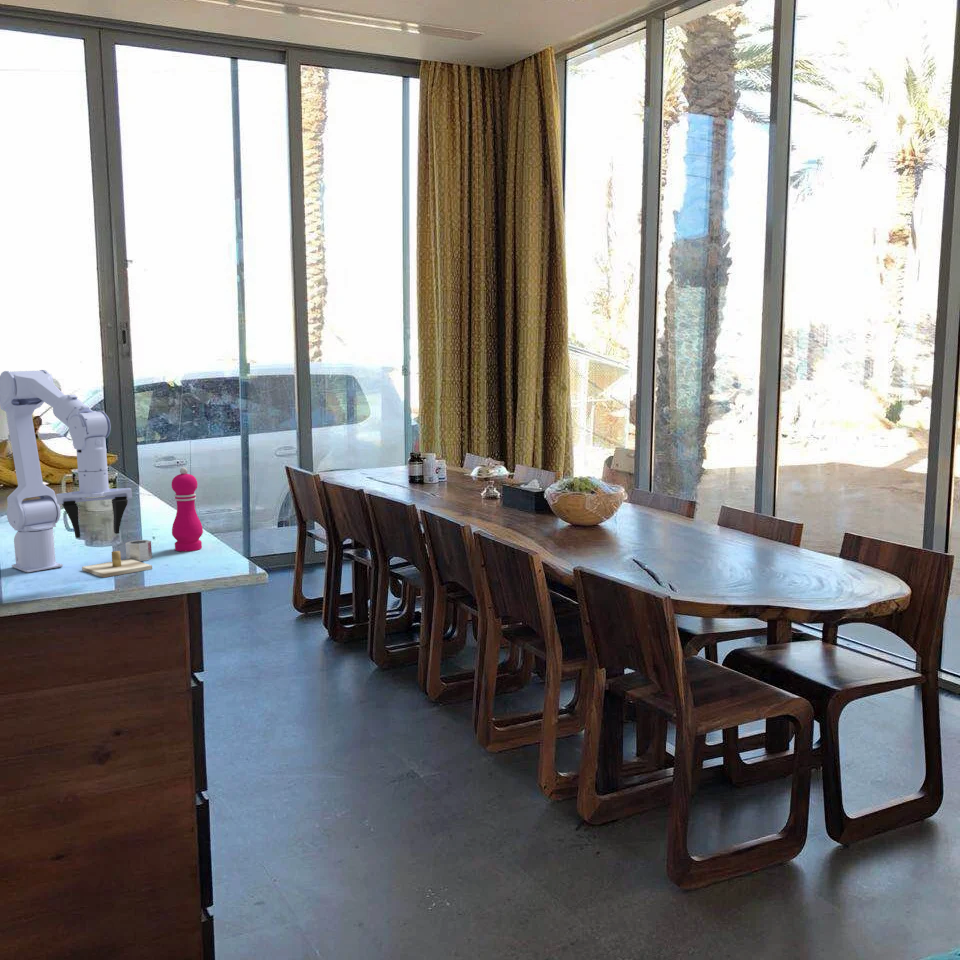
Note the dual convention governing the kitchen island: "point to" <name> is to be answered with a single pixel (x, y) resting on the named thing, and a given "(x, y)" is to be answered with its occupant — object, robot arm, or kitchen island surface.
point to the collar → (138, 550)
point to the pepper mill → (186, 513)
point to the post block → (116, 566)
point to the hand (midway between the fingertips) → (97, 534)
